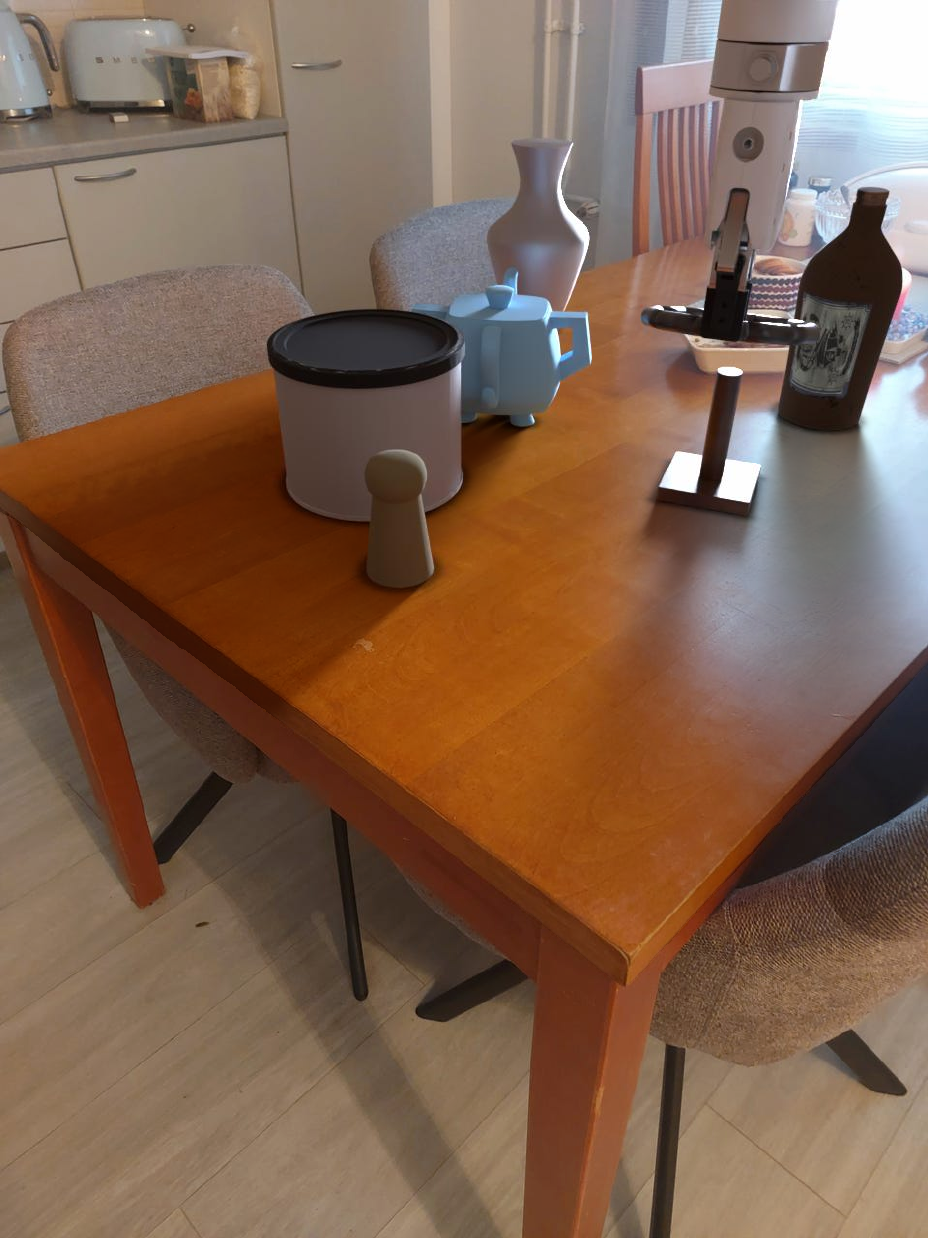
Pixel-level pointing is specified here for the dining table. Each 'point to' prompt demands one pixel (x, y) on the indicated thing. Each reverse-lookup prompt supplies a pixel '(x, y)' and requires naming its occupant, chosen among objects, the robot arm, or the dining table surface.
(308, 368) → the container
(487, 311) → the teapot
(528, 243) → the vase
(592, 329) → the dining table surface
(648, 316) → the ring
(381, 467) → the wooden peg doll
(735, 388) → the peg
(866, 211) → the olive oil
